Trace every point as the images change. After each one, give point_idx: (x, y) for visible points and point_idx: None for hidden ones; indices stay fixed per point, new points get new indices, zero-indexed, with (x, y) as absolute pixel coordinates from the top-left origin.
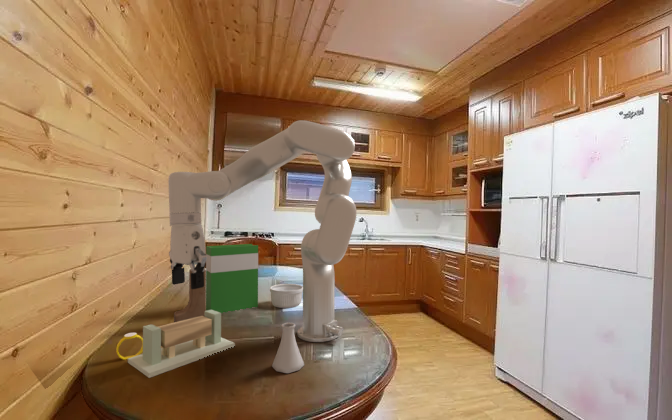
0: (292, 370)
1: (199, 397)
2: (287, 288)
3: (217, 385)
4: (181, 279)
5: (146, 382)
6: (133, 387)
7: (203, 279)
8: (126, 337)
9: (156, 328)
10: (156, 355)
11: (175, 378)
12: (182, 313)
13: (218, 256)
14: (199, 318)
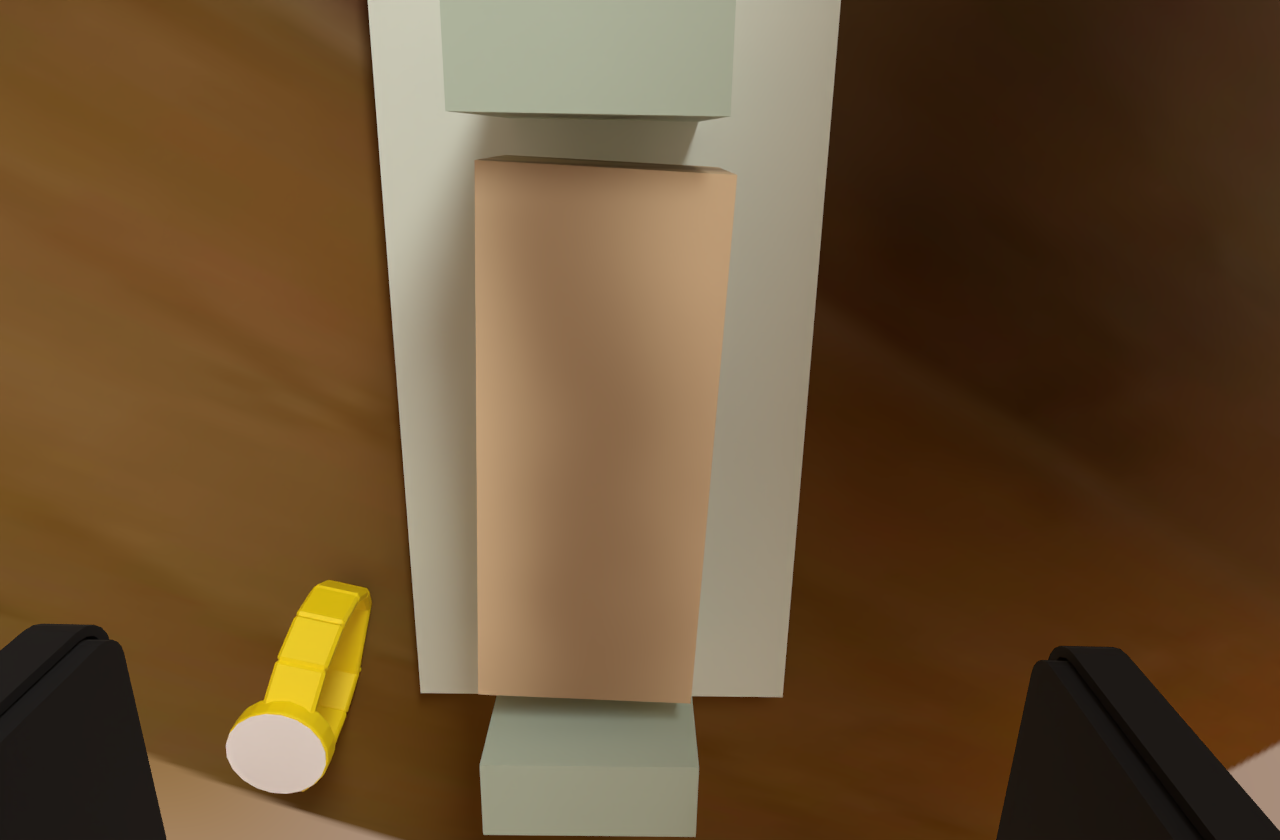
0: None
1: (1257, 610)
2: None
3: (1253, 477)
4: (74, 765)
5: (819, 707)
6: (815, 767)
7: (1229, 788)
8: (311, 783)
9: (654, 788)
10: None
11: (926, 588)
12: None
13: None
14: (566, 257)
